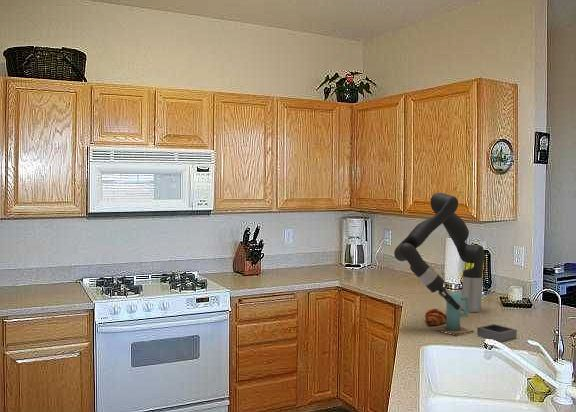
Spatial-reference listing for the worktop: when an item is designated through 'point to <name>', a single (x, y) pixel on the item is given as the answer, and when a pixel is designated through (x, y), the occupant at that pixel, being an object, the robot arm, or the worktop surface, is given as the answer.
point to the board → (461, 331)
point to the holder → (497, 332)
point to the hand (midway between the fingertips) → (457, 306)
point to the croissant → (435, 317)
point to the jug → (455, 312)
